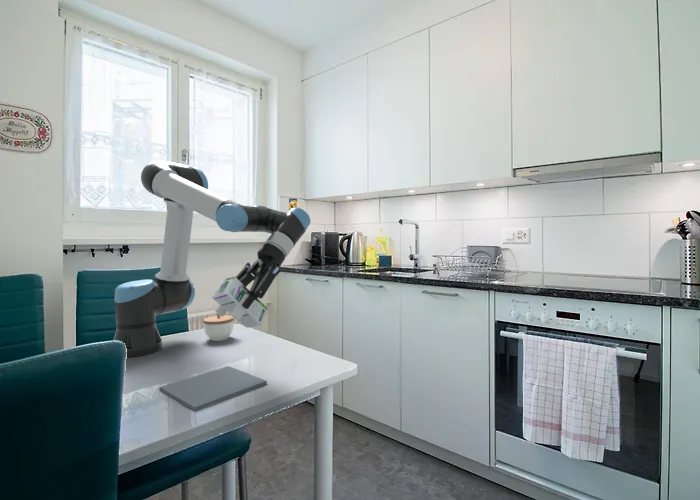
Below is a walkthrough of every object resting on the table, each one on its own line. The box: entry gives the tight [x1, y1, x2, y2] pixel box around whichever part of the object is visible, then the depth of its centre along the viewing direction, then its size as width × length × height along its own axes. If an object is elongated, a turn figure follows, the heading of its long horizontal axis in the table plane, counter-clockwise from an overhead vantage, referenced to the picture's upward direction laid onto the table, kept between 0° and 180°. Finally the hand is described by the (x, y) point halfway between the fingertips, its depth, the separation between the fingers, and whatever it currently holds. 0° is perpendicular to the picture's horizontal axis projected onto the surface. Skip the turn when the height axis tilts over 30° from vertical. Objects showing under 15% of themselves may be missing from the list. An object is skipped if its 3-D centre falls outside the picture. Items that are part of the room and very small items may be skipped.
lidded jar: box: [202, 313, 235, 342], centre depth 140 cm, size 11×11×9 cm
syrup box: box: [211, 276, 268, 329], centre depth 101 cm, size 6×6×14 cm
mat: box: [159, 365, 268, 412], centre depth 94 cm, size 18×19×1 cm
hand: (226, 315), depth 98 cm, fingers closed on syrup box, 7 cm apart
